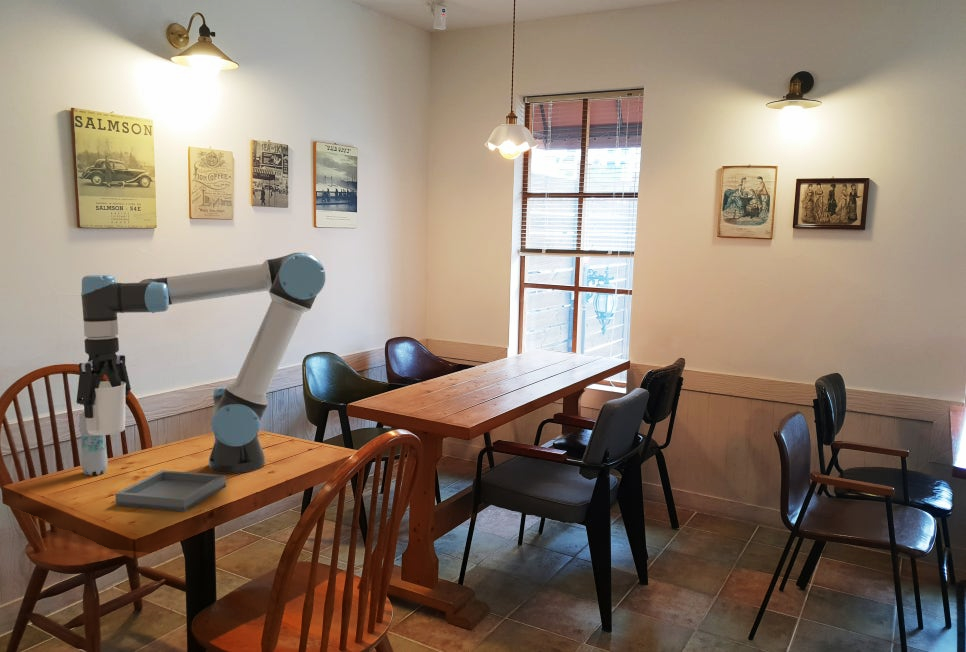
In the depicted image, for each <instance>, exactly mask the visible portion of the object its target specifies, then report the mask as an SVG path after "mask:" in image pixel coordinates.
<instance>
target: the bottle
mask: <svg viewBox="0 0 966 652" xmlns="http://www.w3.org/2000/svg"><path fill="white" fill-rule="evenodd" d="M78 428H79V431H78V432H80V441H81V444H80V445H81V470H82V473H83V475H85V476H93V474H94V472H95V473H96V475H97V476H99V475H100V474H105V472H106V471H107V469H108V455H107V440H106V436H107V435H91V434H89V433H88V430H87V428H86V418H85V414H84V412H82V413H80V414H79V421H78Z"/></svg>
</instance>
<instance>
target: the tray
mask: <svg viewBox="0 0 966 652" xmlns="http://www.w3.org/2000/svg"><path fill="white" fill-rule="evenodd" d="M226 477H227V476H226V475H225V474H215V473H214V474H213V473H212V474H211V473H200V472H191V471H190V472H189V471H188V472H187V471H178V470H177V471H175V470H166V469H165V470H160V471H158V472H156V473H154V474H152V475H150V476H148V477H146V478H144V479H141V480H139V481H137V482H136V483H134V484H132V485H130V486H128V487H125V488H123V489H121V490H120V491H117V492H116V493H115V506H116V507H118V506H119V507H129V508H137V509H138V508H140V509H150V510H160V511H161V510H162V511H171V512H182V513H186V512H187V511H189V510H190V509H192V508H194V507H195V506H197V505H199V504H200V503H202V502H203V501H205V500H206V499H208V498H210V497H211V496H213V495H214V494H217V493H218V492H219V491H221V490H223V489H224V488H226V486H227V483H226V482H227V480H226V479H227V478H226ZM201 501H202V502H201Z"/></svg>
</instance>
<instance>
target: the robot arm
mask: <svg viewBox="0 0 966 652" xmlns="http://www.w3.org/2000/svg"><path fill="white" fill-rule="evenodd" d="M325 283H326V272H325V268H324V265H323V264H322V262H321V261H320V260H319V259H318V258H317V257H316V256H313V255H312V254H309V253H306V252H293V253H290V254H287V255H283V256H280V257H275V258H271V259H265V260H264V261H263V263H261V264H253V265H252V264H251V265H246V266H238V267H230V268H223V269H216V270H210V271H201V272H194V273H188V274H187V273H186V274H180V275H174V276H172V275H171V276H166V277H159V278H147V279H145V278H144V279H142V280H140V281H139V282H117V280H116V278H115V276H114V275H113V274H90V275H89V274H87V275H85V276H83V277H82V279H81V293H80V295H81V305H82V306H81V307H82V318H83V320H82V321H83V333H84V334H83V336H84V337H86V338H85V339H84V341H83V342H84V352H85V354H86V355H88V360H87V362H80V363H78V370H79V372H78V373H79V374H78V375H79V376H78V384H77V393H76V404H77V405H81V406H83V409H84V410H83V411H84V414H85V418H86V428H87V430H88V431H98V414H97V404H94V402H95V398H96V392H95V389H97V388H99V384H100V382H101V380H103V378H104V376H105V375H106V377H107V380H108V381H109V382H110V384H111V386H112V387H117V386H121V383H120V382H121V381H122V382H125V383H126V392H125V396H129V394H130V393H129V392H130V391H131V390H132V389H131V383H130V378H129V374H128V371H127V367H126V366H127V365H126V355H124V354H116V353H118V352H119V351H120V347H119V346H120V345H119V343H120V342H119V338H118V337H117V336H118V335H119V323H118V314H119V313H120V314H125V313H127V314H128V313H152V314H155V313H161V312H163V313H164V312H166V311H168V310H169V306H170V305H176V304H177V305H178V304H184V303H191V302H198V301H204V300H211V299H219V298H225V297H231V296H232V297H233V296H240V295H247V294H254V293H262V292H268V294H269V297H270V298H271V300H270V301H271V302H270V304H269V306H268V307H267V310H266V313H265V315H264V317H263V319H262V321H261V324H260V326H259V328H258V331H257V332H256V335H255V336H254V338H253V341H252V344H251V346H250V348H249V351H248V352H247V355H246V357H245V359H244V362H243V363H242V366H241V368H240V371H239V372H238V375H237V377H236V379H235V382H234V383H232V384H229V385H227V386H220V387H216V388H215V389H214V390H213V396H212V400H213V414H212V419H211V424H210V425H211V426H210V427H211V430H212V433H213V434H214V442H213V446H212V449H211V452H210V455H209V457H208V458H209V459H208V468H209V470H210V471H212V472H214V473H217V474H218V473H220V474H240V473H249V472H251V471H255V470H258V469H260V468H262V467H264V466H265V463H266V462H265V454H264V450H263V448H262V446H261V445H262V444H261V442H260V440H259V435H258V434H259V432H260V425H261V423H260V422H261V420H262V417H263V415H264V413H265V411H266V409H267V407H268V405H269V401H268V400H269V399H268V398H267V393H268V391H269V388H270V385H271V384H272V382H273V379H274V377H275V375H276V373H277V371H278V369H279V366H280V363H281V362H282V360H283V357H284V354H286V351H287V348H288V346H289V343H291V342H290V341H291V339H292V337H293V335H294V333H295V331H296V329H297V326H298V324H299V322H300V318H302V315H303V314H305V313H306V312H309V311H311V308H312V307H313V305H314V302H315V300H316V298H317V296H318V294H319V293H320V292H321V291H322V290H323V288H324V286H325ZM89 398H90V400H89Z"/></svg>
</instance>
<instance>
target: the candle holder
mask: <svg viewBox="0 0 966 652" xmlns="http://www.w3.org/2000/svg"><path fill="white" fill-rule="evenodd" d="M120 383H121V386H117V387H112V386H111V384H110V382H109V380H105V381H104V380H102V381H100V384H99V388H97V389H95V392H96V398H95V402H94V404H97V414H98V431H88V433H89V434H91V435H106V436H108V435H109V436H111V435H116V434H120V433H122V432H124V431H125V430H126V395H125V392H126V383H125V382H122V381H121V382H120ZM89 400H90V398H89Z"/></svg>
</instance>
